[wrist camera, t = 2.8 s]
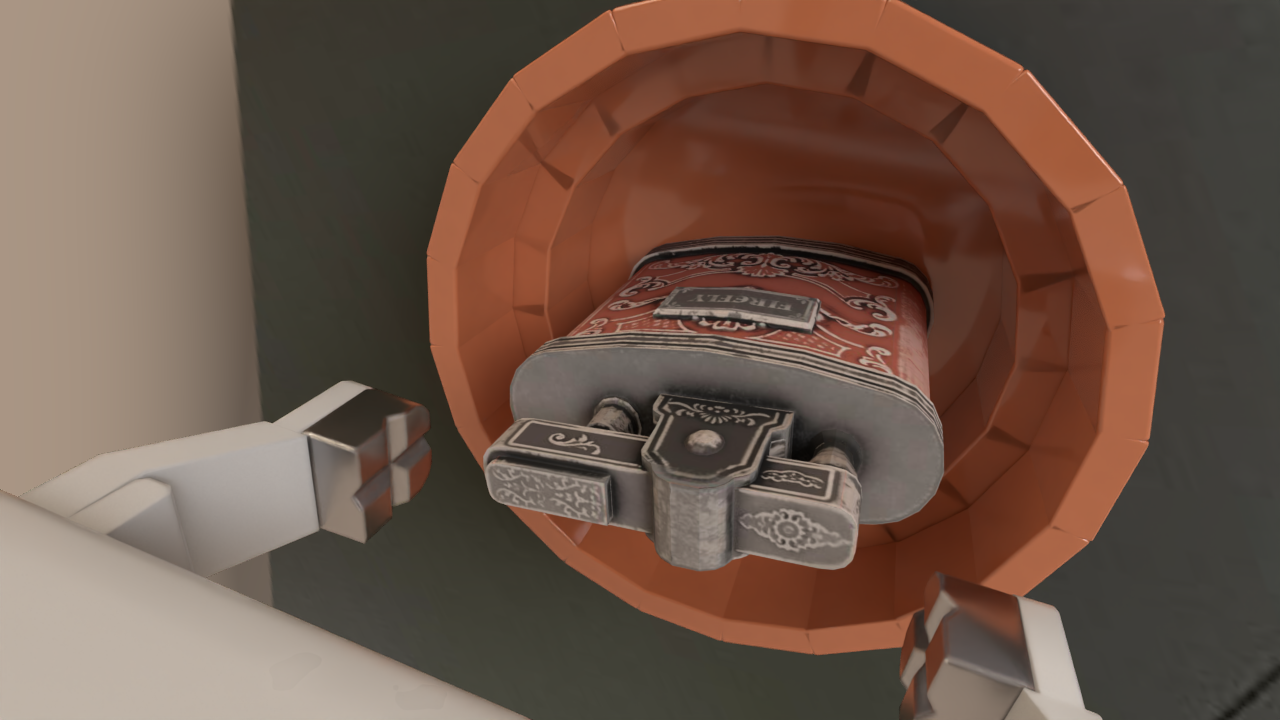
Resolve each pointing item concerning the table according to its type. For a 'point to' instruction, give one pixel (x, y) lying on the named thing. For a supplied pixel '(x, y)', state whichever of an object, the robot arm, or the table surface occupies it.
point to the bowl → (833, 212)
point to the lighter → (734, 404)
